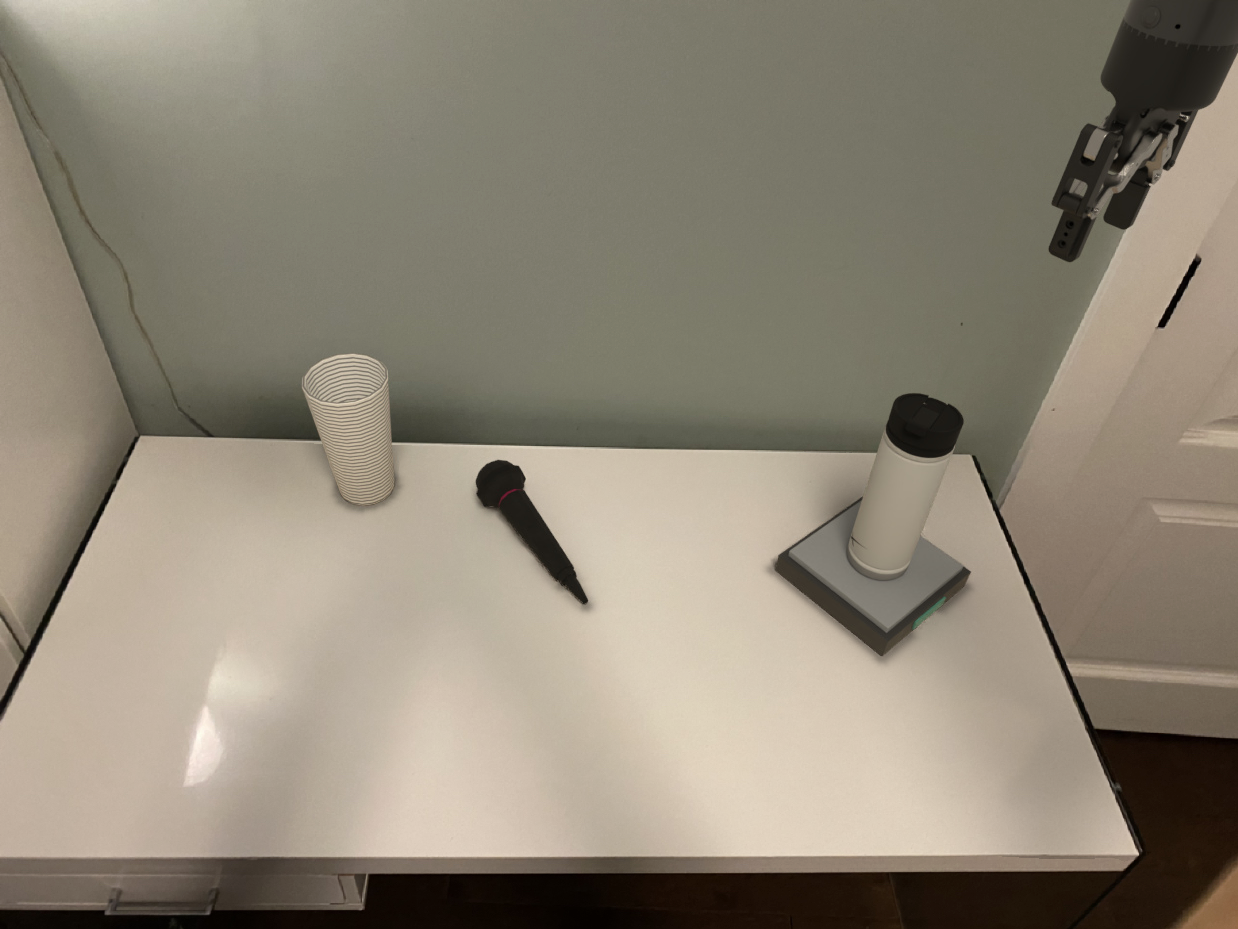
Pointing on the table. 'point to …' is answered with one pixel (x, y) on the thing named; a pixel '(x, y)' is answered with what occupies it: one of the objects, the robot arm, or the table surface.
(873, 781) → the table surface
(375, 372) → the cup
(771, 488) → the table surface
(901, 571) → the travel mug
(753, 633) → the table surface
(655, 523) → the table surface
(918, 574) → the scale
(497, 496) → the microphone
